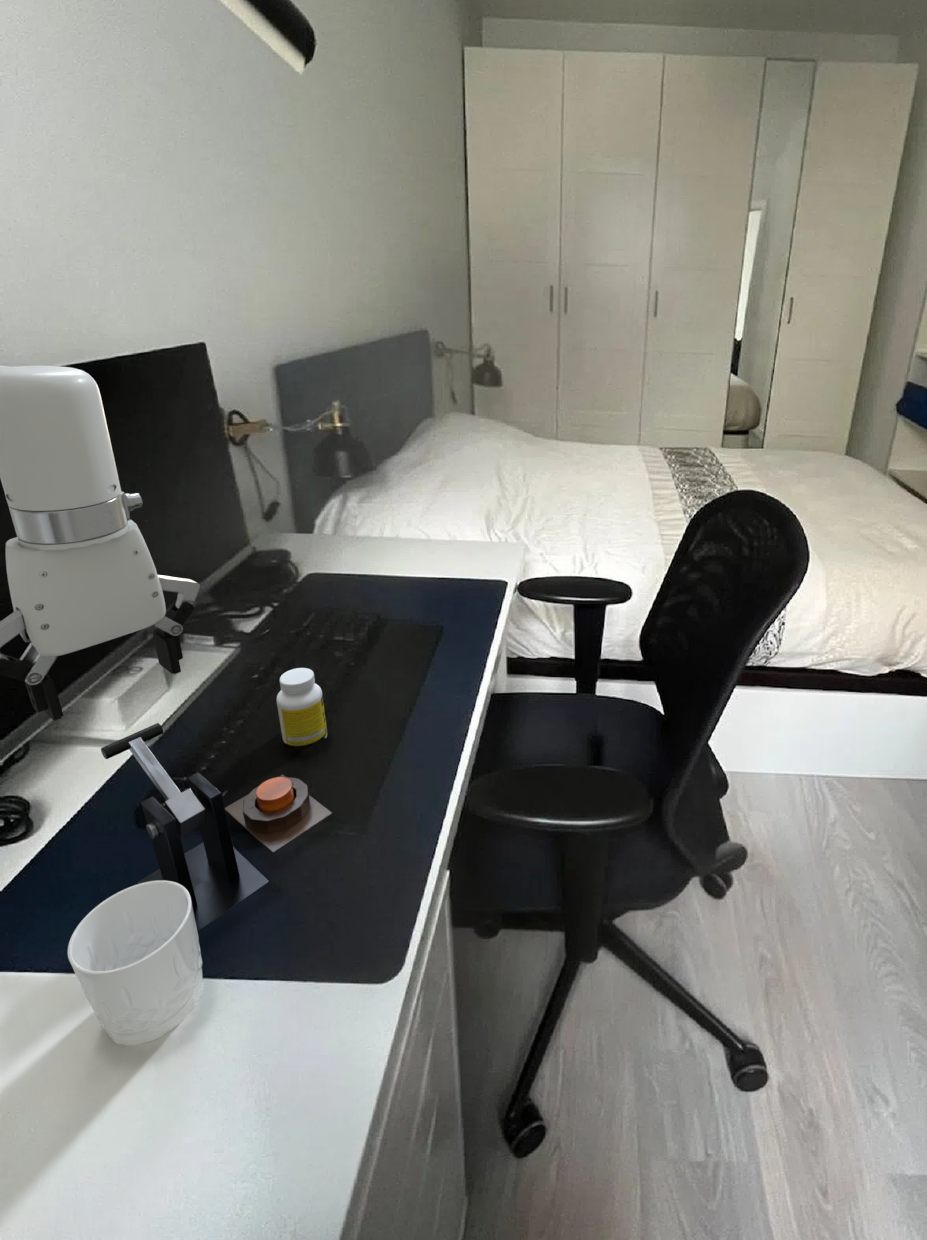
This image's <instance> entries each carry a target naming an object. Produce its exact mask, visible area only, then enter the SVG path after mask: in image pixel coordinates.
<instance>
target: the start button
mask: <svg viewBox="0 0 927 1240" xmlns="http://www.w3.org/2000/svg"><path fill="white" fill-rule="evenodd" d="M258 786H259V787H258ZM258 786H257V787H258V788H257V791H256V797H257V802H258V807H259V809H260V810H261V811H263V812H270V813H271V812H274V811H278V810H282V809H284V808H285V807H287V806H289V805H290V804H291V803H292V801H293V799H294V792H293V786H292V782H291V780H290V779H288V778H285V777H279V776H276V777H271V778H269V779H267V780H265V781H263V782H261V784H259V785H258Z"/></svg>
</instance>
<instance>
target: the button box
mask: <svg viewBox="0 0 927 1240" xmlns="http://www.w3.org/2000/svg"><path fill="white" fill-rule="evenodd" d="M278 777H285V778H288V779H290V780H291V782H292V786H293V792H294V799H293V801H292V803H291V804H290V805H289V806H287V807H285V808H284V809H282V810H278V811H274V812H271V813H270V812H263V811H261V810H260V809H259V807H258V802H257V797H256V791H257V788H258V787H259V786H260V785H258V786H256V787H254V788H253V789H251V790H250V792H249V793H248V794H245V795H244V796H243V797H241V798H239V799H238V800H236V801H234V802H232V803H231V804H229V805H227V806H226V807H224V808H225V812H226V813H227V814H229V816H231V817H232V818H233V819H234V820H235V821H236V822H237V823H238V824H240V825H241V826H242V828H244V829H245V830H246V831H247V832H249V833H250V834H251V836H253V838H255V839H256V840H257V841H259V842H260V844H262V845H263V846H264V847H265V848H266V849H267V850H268V851H270V853H272V854H274V853H276V852H278V851H279V850H280V849H282V848H283V847H285V846H286V845H288V844H290V843H291V842H292V841H294V840H295V839H297V838H298V837H300V836H301V835H303V834H304V833H306V832H307V831H309V830H310V829H312V828H314V827H315V826H316V825H318V824H320V823H321V822H322V821H324V820H325V819H327V818H328V817H330V816H331V815H333V812H332V811H331V810H330V809H328V808H327V807H326V806H325V805H323V804H322V803H320V802H319V801H318V800H317V799H315V798H314V797H312V796H311V795H310V792H309V786H308V784H306V783H305V782H304V781H303V780H302V779H300V778H298V777H288V776H286V775H284V774H281V775H279V776H278Z"/></svg>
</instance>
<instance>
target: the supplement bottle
mask: <svg viewBox="0 0 927 1240" xmlns="http://www.w3.org/2000/svg"><path fill="white" fill-rule="evenodd" d="M279 687H280V691H279V692H278V693H277V695H276V699H275V700H276V706H277V712H278V713H277V714H278V721H279V725H280V732H281V738H282V742H283V743H284V744H285V745H287V746H290V747H304V746H308V745H312V744H315V743H316V742H318V741H320V740H321V739H323V738H324V739H327V737H328V726H327V719H326V711H325V704H324V696H323V690H322V688H321V686H320V685H318V684H317V683H316V679H315V673H314V671H313V670H312V669H311V668H307V667H296V668H292V669H289V670H287V671H285V672H284V673H282V674H281V676H280V677H279Z"/></svg>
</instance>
